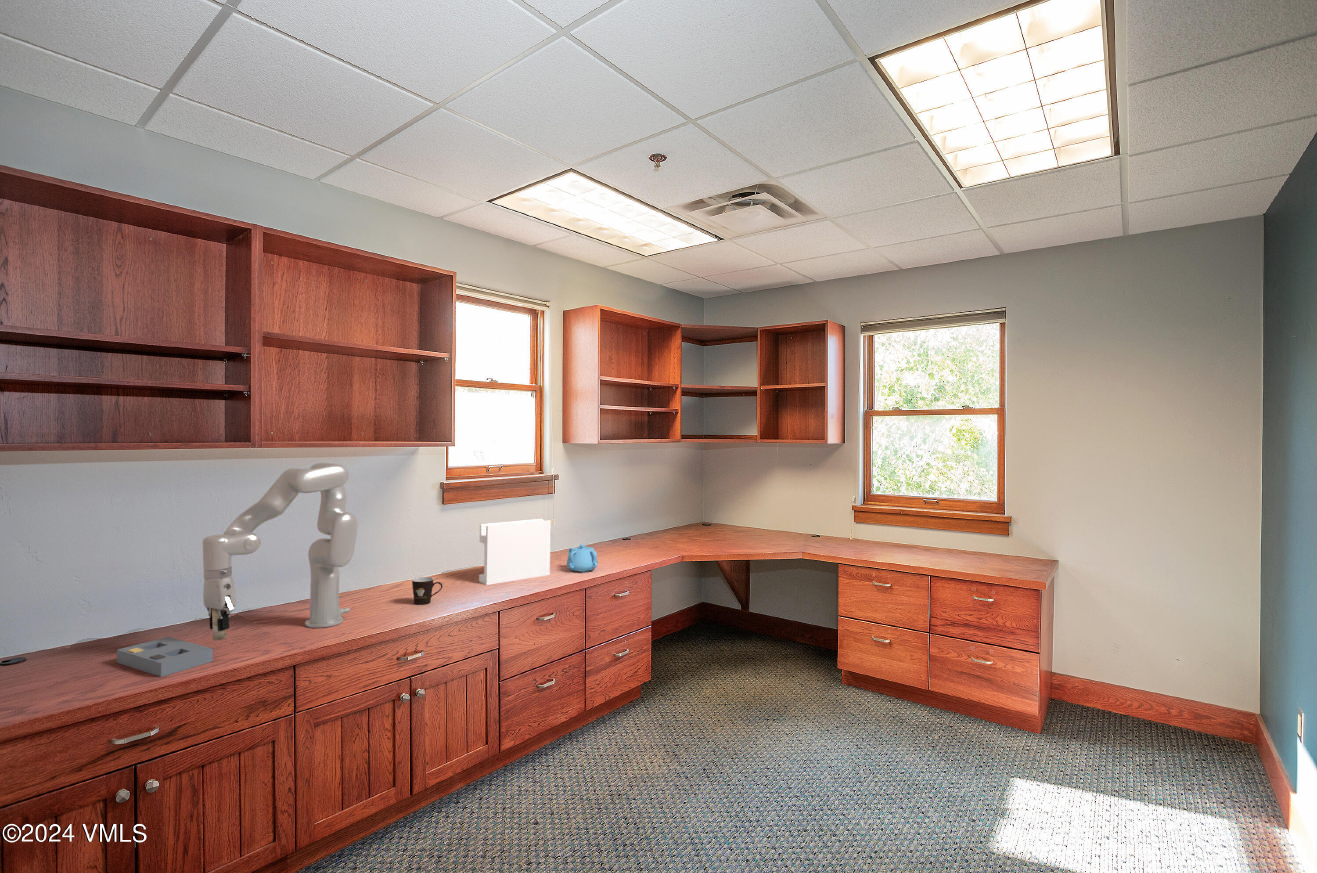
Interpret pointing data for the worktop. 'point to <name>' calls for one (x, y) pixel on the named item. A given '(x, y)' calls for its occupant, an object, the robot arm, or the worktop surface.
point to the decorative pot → (582, 559)
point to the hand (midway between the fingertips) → (219, 628)
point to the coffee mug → (423, 590)
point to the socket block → (164, 656)
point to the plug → (217, 634)
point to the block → (515, 550)
